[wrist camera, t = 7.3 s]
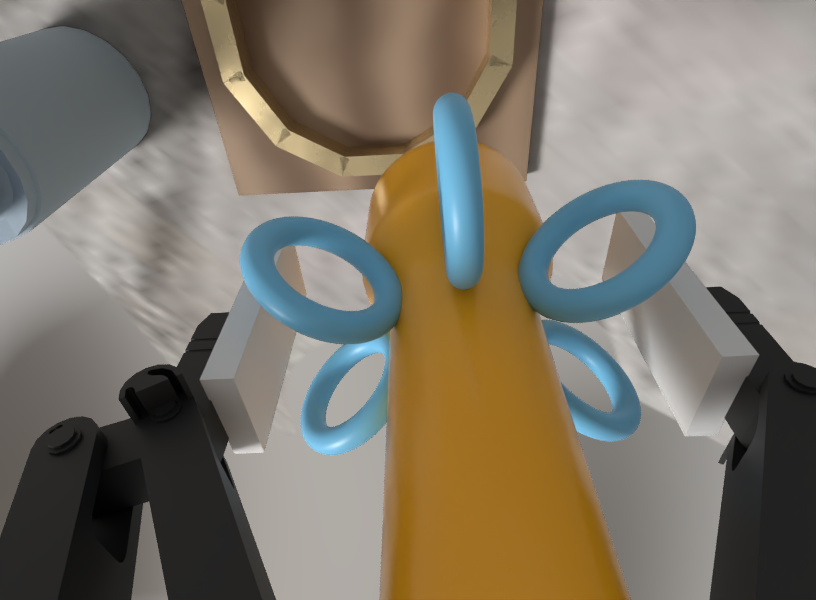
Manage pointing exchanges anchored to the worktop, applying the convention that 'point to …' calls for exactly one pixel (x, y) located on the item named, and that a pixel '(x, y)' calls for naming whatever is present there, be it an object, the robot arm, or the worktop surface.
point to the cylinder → (475, 366)
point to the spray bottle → (61, 120)
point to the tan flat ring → (324, 149)
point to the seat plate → (364, 80)
